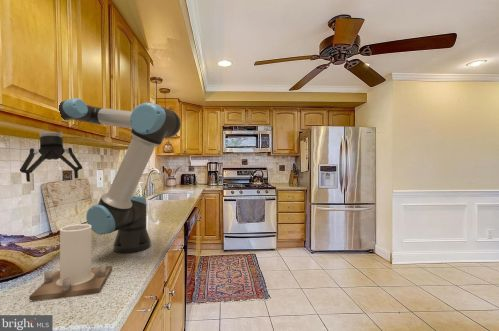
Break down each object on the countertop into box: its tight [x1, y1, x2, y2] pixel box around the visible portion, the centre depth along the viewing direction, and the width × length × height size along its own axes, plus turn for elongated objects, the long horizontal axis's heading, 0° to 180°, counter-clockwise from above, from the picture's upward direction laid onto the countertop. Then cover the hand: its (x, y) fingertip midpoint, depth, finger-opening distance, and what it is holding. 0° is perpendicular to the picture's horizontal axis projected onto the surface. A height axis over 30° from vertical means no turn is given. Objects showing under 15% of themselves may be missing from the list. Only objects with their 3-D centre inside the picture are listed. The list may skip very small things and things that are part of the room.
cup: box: [59, 223, 92, 284], centre depth 82 cm, size 8×8×16 cm
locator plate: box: [28, 265, 113, 301], centre depth 82 cm, size 17×17×4 cm
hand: (53, 188), depth 105 cm, fingers open, 13 cm apart
